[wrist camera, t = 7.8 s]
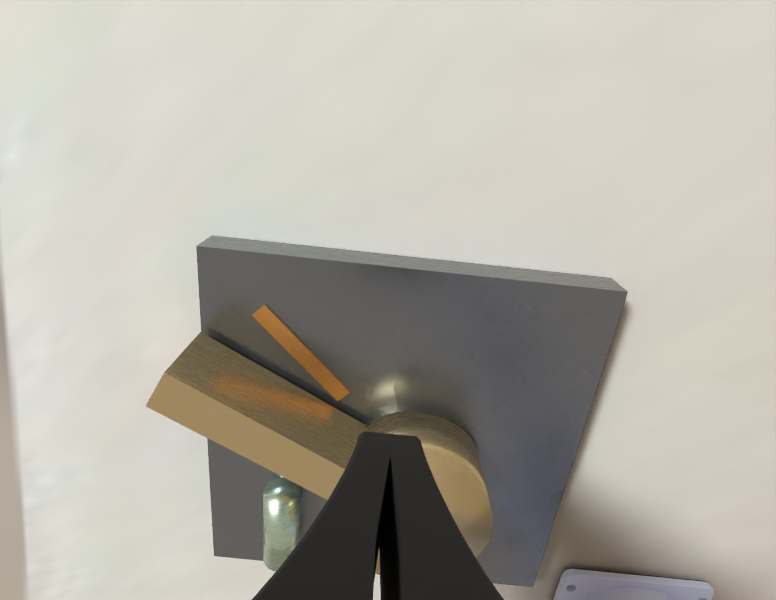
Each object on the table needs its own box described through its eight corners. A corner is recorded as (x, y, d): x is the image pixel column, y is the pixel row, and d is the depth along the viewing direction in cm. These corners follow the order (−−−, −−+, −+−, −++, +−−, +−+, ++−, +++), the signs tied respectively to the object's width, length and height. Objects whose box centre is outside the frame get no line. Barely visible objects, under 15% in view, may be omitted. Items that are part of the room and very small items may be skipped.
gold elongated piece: (508, 455, 20) (526, 510, 17) (426, 538, 22) (430, 600, 19) (225, 288, 17) (192, 322, 15) (161, 399, 19) (121, 448, 17)
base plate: (525, 560, 25) (541, 619, 22) (224, 530, 25) (201, 586, 22) (610, 278, 19) (648, 308, 16) (212, 235, 18) (176, 259, 16)
